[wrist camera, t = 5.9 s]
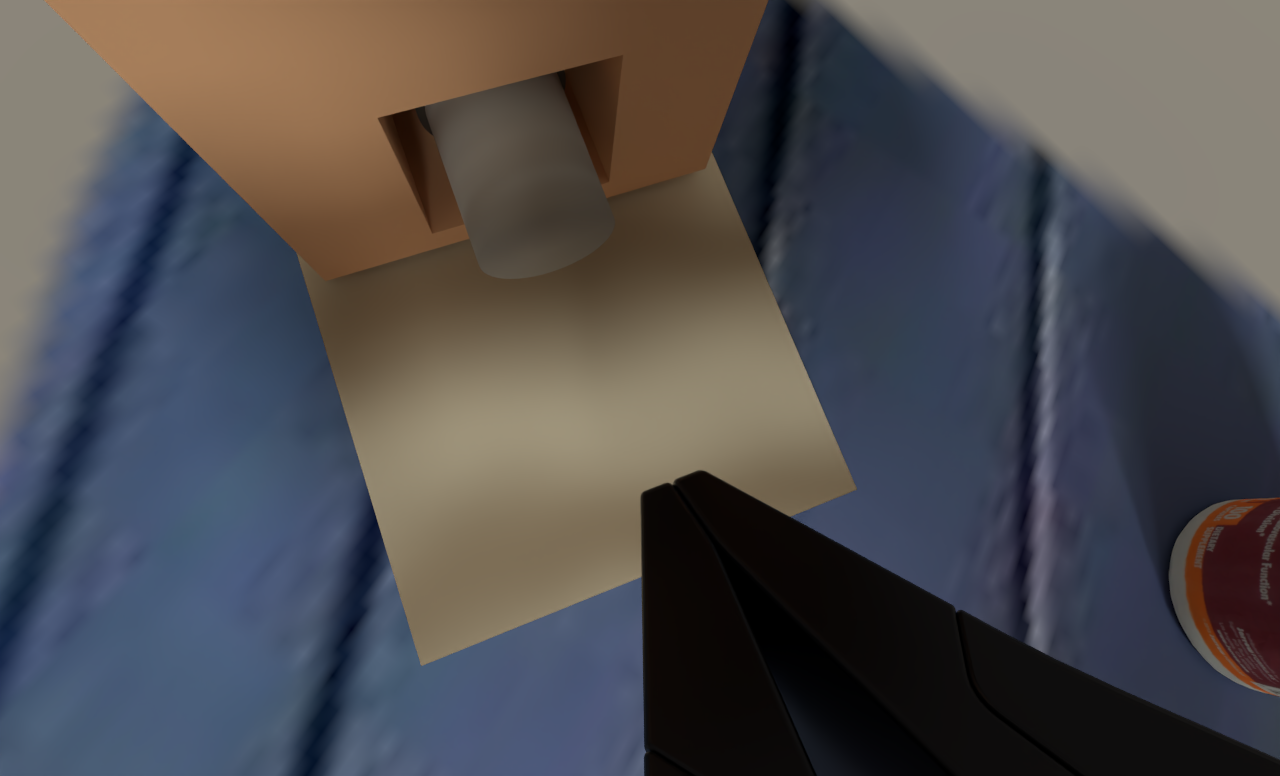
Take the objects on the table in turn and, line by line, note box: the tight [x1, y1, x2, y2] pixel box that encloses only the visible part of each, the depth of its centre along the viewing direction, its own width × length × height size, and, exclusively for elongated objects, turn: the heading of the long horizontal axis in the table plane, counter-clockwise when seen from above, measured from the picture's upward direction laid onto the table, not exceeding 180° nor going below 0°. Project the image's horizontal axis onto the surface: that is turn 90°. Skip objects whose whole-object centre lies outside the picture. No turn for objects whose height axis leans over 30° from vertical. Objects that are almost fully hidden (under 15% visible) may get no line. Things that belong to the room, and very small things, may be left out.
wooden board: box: [45, 0, 768, 281], centre depth 11 cm, size 3×9×9 cm, turn 110°
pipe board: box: [296, 70, 857, 666], centre depth 11 cm, size 13×10×10 cm
